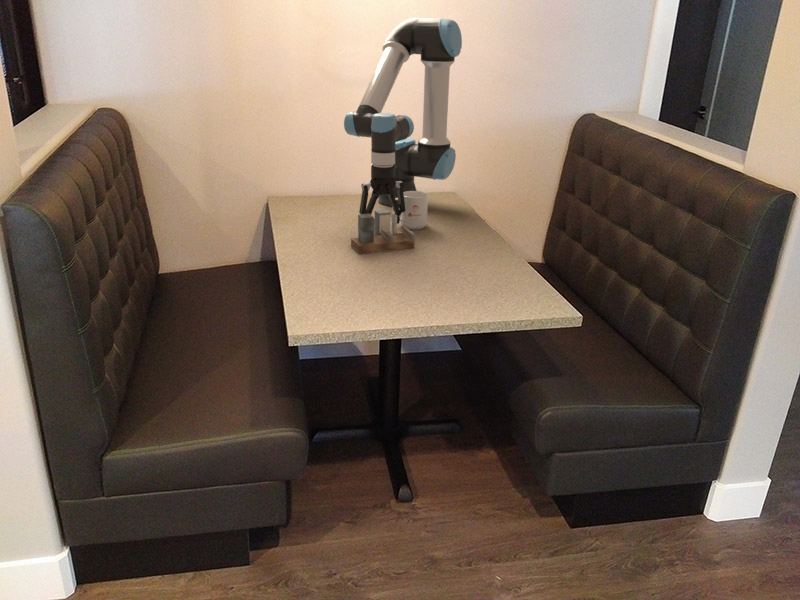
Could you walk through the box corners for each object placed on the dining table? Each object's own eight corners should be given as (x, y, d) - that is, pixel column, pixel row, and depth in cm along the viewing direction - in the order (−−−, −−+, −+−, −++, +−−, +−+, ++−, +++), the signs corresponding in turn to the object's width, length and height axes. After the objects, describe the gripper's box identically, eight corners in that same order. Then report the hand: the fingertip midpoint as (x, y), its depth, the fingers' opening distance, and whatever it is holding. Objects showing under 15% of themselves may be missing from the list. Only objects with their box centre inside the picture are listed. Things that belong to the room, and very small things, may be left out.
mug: (424, 222, 244) (425, 190, 240) (428, 230, 236) (430, 197, 232) (390, 222, 243) (390, 191, 238) (393, 230, 235) (393, 198, 230)
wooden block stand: (404, 240, 226) (405, 208, 222) (414, 247, 219) (415, 215, 215) (350, 245, 220) (350, 213, 216) (359, 254, 213) (359, 220, 209)
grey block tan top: (374, 234, 231) (374, 210, 228) (386, 232, 232) (386, 209, 229) (379, 237, 228) (379, 213, 224) (390, 236, 229) (391, 212, 226)
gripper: (408, 160, 228) (406, 228, 237) (348, 164, 221) (348, 234, 230) (418, 165, 221) (415, 234, 230) (355, 169, 214) (356, 241, 223)
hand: (382, 234), depth 230 cm, fingers open, 8 cm apart
